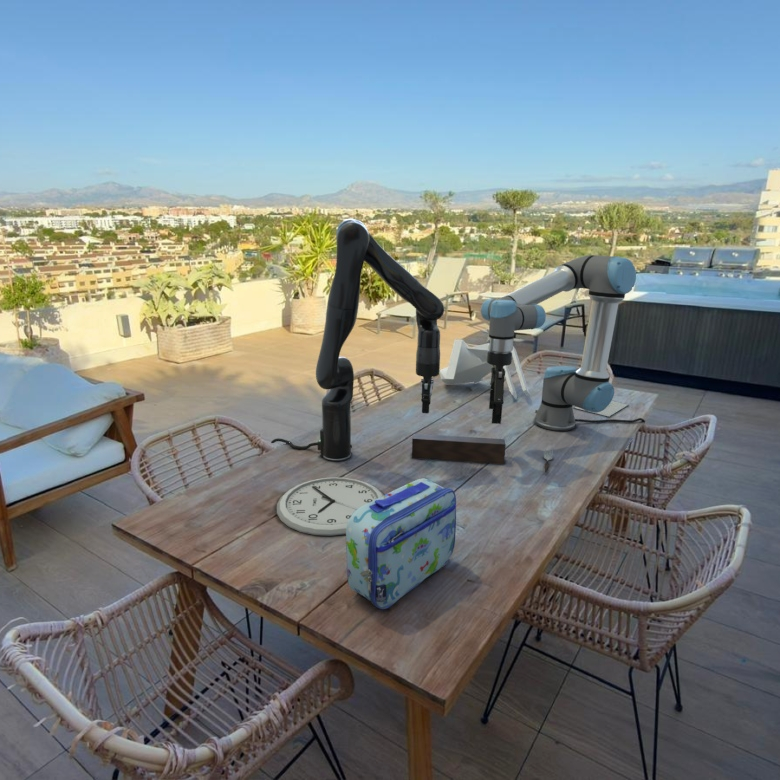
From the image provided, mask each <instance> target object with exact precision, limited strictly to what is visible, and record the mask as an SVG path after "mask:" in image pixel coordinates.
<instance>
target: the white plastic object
mask: <svg viewBox="0 0 780 780" xmlns="http://www.w3.org/2000/svg"><path fill="white" fill-rule="evenodd" d="M488 351H489V349H488V343H487V342H486V343H483V344H479V345H473V346H469V345H468V343H466V342H465V340H464V339H463V338H460V339H458V338H454V340H453V344H452V349H451V353H450V357H449V362H448V366H446V367H444V368H442V369H441V368H440V371H439V376H440V381H442V383H443V384H444V385H445V386H449V385H458V384H467V383H468V384H469V383H473V384H477V383H480V382H482V381H484V378H485V377H486V376H487V375H489V374H490V373H491V369H492V368H493V365H491V364H489V363H487V352H488ZM511 352H512V360H513V363H514V366H515V369H516V372H517V376H518V380H519V382H520V385H521V389H522V391H523V393H524V395H525V396H526V397H528V396H531V395H530V390H529V388H528V387H529V386H528V384H527V381H526V378H525V375H524V371H523V369H522V368H523V367H522V366H521V362H520V359H519V355H518V352H517V349H516V347H515V346H514V345H513V350H512V351H511ZM503 368H504V371H505V376H504V378H505V380H506V383H507V386H508V390H509V393H510V394H511V395H512V397H513V398H514V399H515V400H517V392H516V391H517V390H516V388H515V385H514V381H513V378H512V375H511V371H510V369H509V365H507V366H506V365H505V366H503Z"/></svg>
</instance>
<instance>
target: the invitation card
mask: <svg viewBox="0 0 780 780" xmlns="http://www.w3.org/2000/svg"><path fill="white" fill-rule="evenodd" d="M628 406H629V404H627V403H623V402H618V401H614V400H612V401H611V402H610V404H609V405H608V406H607V407H606V408H605V409H604V410H603V411H601V412H597V413H595V412H591V411H586V410H584V409H582V408H579V407H576V406H574V407H573V409H575V410H581V411H584V412H587V413H593V414H596V415H600V416H604V417H608V418H609V417H611V416H613V415H614V414H616V413H617V412H619V411H621V410H623V409H624V408H626V407H628Z"/></svg>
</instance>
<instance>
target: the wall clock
mask: <svg viewBox="0 0 780 780" xmlns="http://www.w3.org/2000/svg"><path fill="white" fill-rule="evenodd" d="M384 495H385V494H384V493H383V492H382V491H381V490H380V489H379V488H377V487H376V486H374V485H372V484H371V483H369V482H365V481H362V480H359V479H355V478H349V477H338V476H337V477H335V476H333V477H332V476H331V477H322V478H317V479H312V480H307V481H305V482H302V483H299V484H297V485H295V486H293V487H292V488H290V489H288V490H287V491H286V492H285V493H284V494H283V495H281V496H280V498H279V499H278V502H277V503H276V515H277V517H278V518H279V520H280V521H281V522H282V523H283V524H285V525H286V526H287V527H288V528H290V529H293V530H295V531H297V532H299V533H303V534H308V535H312V536H327V537H328V536H329V537H331V536H332V537H333V536H342V535H346V528H347V524H348V521H349V519H350V517H351V515H352V514H353V513H354V512H355V511H356V510H357V509H358V508H360V507H362V506H364V505H366V504H368V503H370V502H372V501H374V500H376V499H378V498H380V497H382V496H384Z"/></svg>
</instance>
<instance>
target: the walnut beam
mask: <svg viewBox="0 0 780 780" xmlns="http://www.w3.org/2000/svg"><path fill="white" fill-rule="evenodd" d="M506 446H507V445H506V439H505V438H494V437H493V438H492V437H475V436H458V435H445V434H444V435H442V434H428V433H427V434H426V433H412V439H411V459H418V460H433V461H447V462H448V461H449V462H462V463H465V462H466V463H477V464H492V465H493V464H494V465H505V459H506V458H505V457H506Z"/></svg>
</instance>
